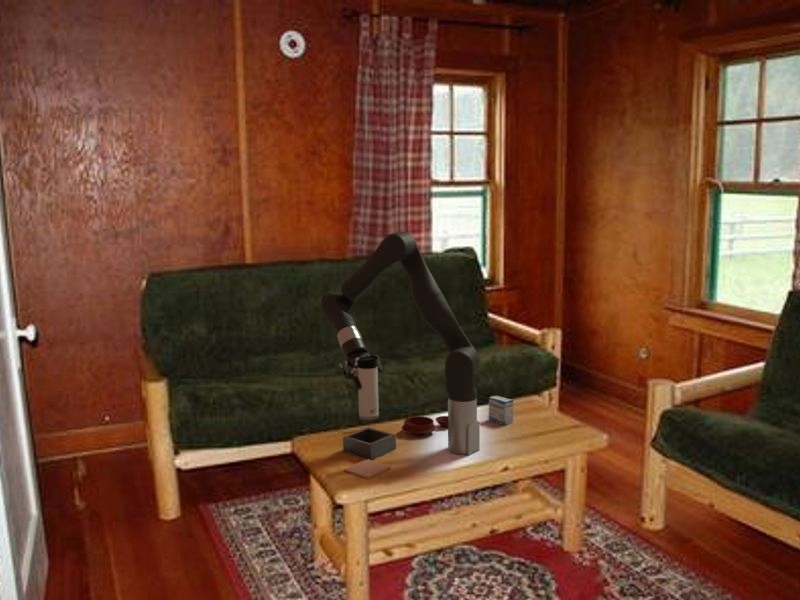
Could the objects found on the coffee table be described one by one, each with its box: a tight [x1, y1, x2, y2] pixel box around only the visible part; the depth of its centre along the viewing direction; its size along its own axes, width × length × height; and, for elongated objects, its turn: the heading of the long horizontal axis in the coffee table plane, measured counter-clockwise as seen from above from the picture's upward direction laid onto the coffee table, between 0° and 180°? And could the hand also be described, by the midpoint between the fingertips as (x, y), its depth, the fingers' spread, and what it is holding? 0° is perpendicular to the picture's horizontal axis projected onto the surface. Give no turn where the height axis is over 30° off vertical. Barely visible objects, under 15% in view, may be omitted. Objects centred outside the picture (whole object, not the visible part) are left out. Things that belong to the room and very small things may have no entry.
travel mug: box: [357, 355, 380, 421], centre depth 228 cm, size 6×7×20 cm
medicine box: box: [488, 395, 514, 426], centre depth 257 cm, size 8×4×9 cm, turn 43°
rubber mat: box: [343, 459, 392, 480], centre depth 216 cm, size 10×10×1 cm
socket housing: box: [342, 426, 397, 461], centre depth 231 cm, size 12×12×5 cm
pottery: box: [401, 415, 448, 437], centre depth 249 cm, size 12×20×4 cm, turn 122°
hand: (369, 386), depth 228 cm, fingers closed on travel mug, 6 cm apart
